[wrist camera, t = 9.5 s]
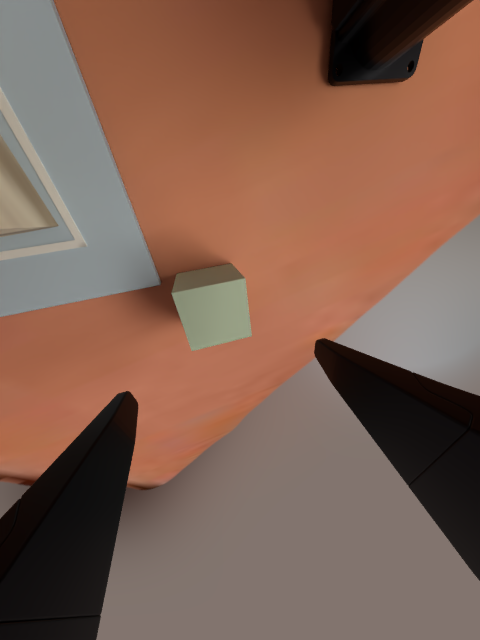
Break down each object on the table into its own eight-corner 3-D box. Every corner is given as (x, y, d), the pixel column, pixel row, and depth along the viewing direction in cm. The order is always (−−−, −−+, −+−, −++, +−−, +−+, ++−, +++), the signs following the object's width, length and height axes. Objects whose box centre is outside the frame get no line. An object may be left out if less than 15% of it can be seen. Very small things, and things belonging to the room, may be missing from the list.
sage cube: (231, 263, 16) (245, 278, 12) (238, 310, 19) (251, 336, 15) (176, 273, 16) (171, 293, 11) (191, 320, 18) (192, 351, 14)
